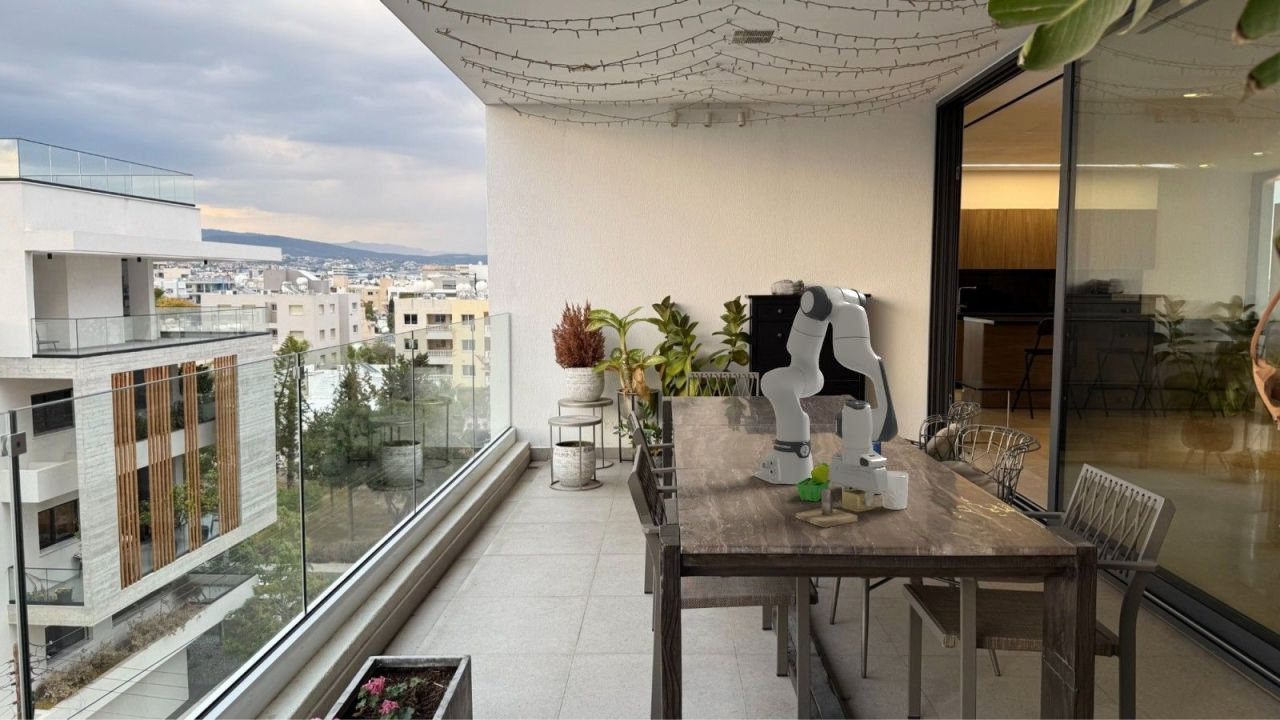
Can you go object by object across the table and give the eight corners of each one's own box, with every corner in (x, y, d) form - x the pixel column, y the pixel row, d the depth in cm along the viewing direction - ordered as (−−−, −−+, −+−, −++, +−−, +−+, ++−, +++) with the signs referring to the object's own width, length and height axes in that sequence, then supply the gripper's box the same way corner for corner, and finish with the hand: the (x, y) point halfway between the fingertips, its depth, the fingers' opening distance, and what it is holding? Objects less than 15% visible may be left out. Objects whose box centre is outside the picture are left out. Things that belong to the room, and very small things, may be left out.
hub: (842, 507, 247) (842, 491, 247) (857, 504, 250) (857, 488, 250) (857, 512, 242) (857, 495, 241) (872, 509, 245) (872, 492, 244)
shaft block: (795, 518, 236) (795, 488, 236) (827, 512, 242) (827, 483, 242) (825, 527, 226) (824, 496, 226) (857, 520, 232) (857, 490, 232)
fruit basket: (807, 492, 267) (807, 457, 266) (835, 495, 263) (834, 460, 262) (795, 500, 257) (794, 464, 257) (823, 503, 253) (822, 466, 252)
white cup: (890, 511, 242) (890, 477, 241) (875, 505, 249) (875, 472, 249) (914, 509, 244) (914, 475, 243) (898, 502, 251) (898, 470, 251)
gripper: (824, 452, 252) (825, 497, 253) (875, 463, 234) (875, 511, 235) (840, 450, 255) (840, 494, 256) (891, 460, 238) (891, 508, 239)
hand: (857, 503), depth 246 cm, fingers closed on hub, 6 cm apart
